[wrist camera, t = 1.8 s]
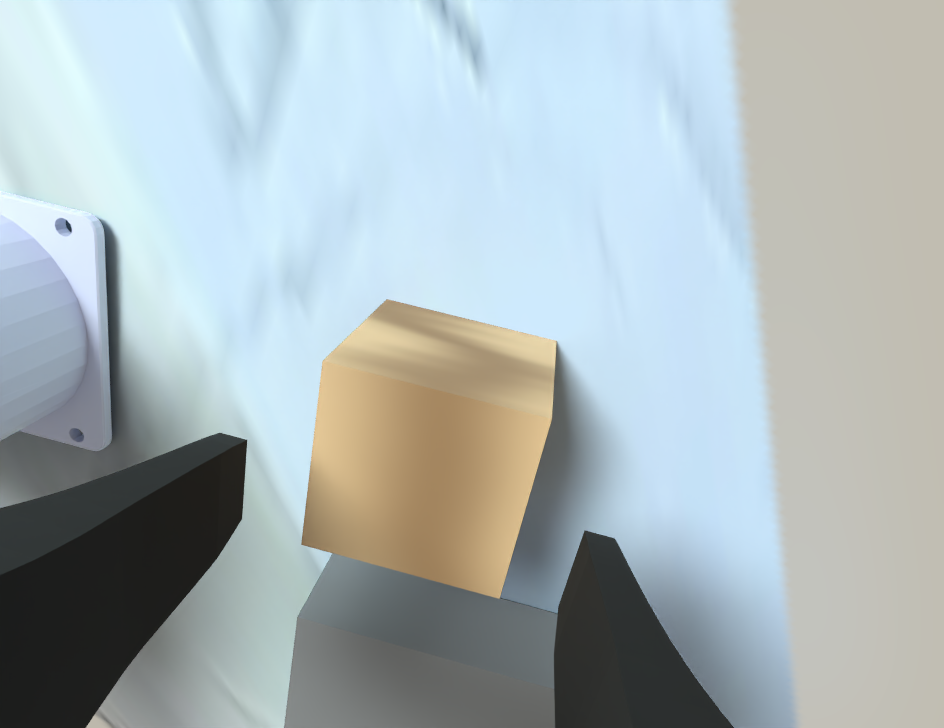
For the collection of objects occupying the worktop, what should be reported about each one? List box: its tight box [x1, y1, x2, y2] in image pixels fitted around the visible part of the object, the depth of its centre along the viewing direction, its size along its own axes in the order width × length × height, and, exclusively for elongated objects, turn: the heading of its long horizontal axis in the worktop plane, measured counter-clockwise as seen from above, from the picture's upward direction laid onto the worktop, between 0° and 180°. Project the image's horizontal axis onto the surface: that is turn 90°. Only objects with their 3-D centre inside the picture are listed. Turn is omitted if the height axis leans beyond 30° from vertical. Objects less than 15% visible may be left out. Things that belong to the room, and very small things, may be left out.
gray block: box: [284, 553, 558, 728], centre depth 21 cm, size 10×10×3 cm
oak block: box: [301, 299, 557, 599], centre depth 16 cm, size 5×5×5 cm
